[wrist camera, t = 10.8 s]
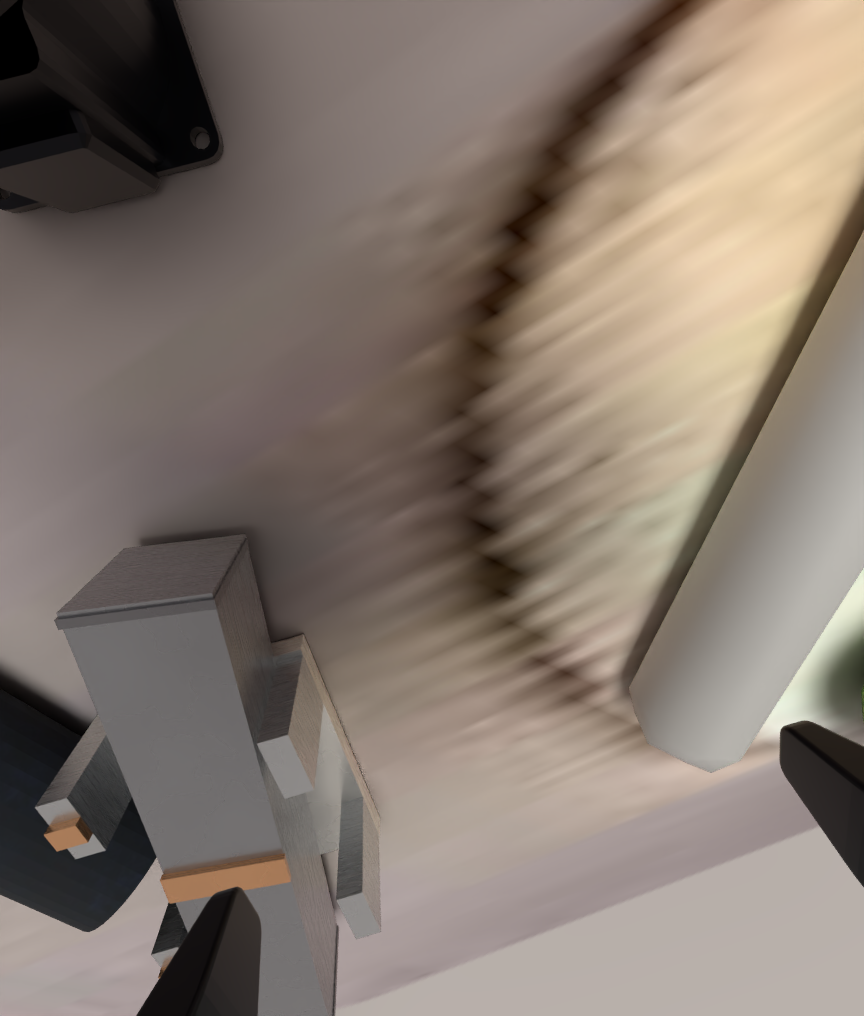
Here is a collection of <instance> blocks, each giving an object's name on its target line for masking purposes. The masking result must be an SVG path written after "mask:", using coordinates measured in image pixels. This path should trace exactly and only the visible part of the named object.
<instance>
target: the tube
mask: <svg viewBox="0 0 864 1016" xmlns="http://www.w3.org/2000/svg"><path fill="white" fill-rule="evenodd" d="M863 568H864V231H863V233H862V235H861V237H860V239H859V241H858V243H857V245H856V247H855V248H854V250H853V252H852V254H851V256H850V258H849V260H848V262H847V264H846V266H845V268H844V270H843V272H842V274H841V276H840V278H839V280H838V282H837V284H836V285H835V287H834V289H833V291H832V293H831V295H830V297H829V299H828V301H827V303H826V305H825V307H824V309H823V311H822V313H821V315H820V317H819V319H818V321H817V322H816V324H815V326H814V328H813V330H812V332H811V334H810V336H809V338H808V340H807V342H806V344H805V346H804V348H803V350H802V352H801V354H800V356H799V358H798V359H797V361H796V363H795V365H794V367H793V369H792V371H791V373H790V375H789V377H788V379H787V381H786V383H785V385H784V387H783V389H782V391H781V393H780V394H779V396H778V398H777V400H776V402H775V404H774V406H773V408H772V410H771V412H770V414H769V416H768V418H767V420H766V422H765V424H764V426H763V428H762V430H761V431H760V433H759V435H758V437H757V439H756V441H755V443H754V445H753V447H752V449H751V451H750V453H749V455H748V457H747V459H746V461H745V463H744V465H743V467H742V468H741V470H740V472H739V474H738V476H737V478H736V480H735V482H734V484H733V486H732V488H731V490H730V492H729V494H728V496H727V498H726V500H725V502H724V504H723V505H722V507H721V509H720V511H719V513H718V515H717V517H716V519H715V521H714V523H713V525H712V527H711V529H710V531H709V533H708V535H707V537H706V539H705V541H704V542H703V544H702V546H701V548H700V550H699V552H698V554H697V556H696V558H695V560H694V562H693V564H692V566H691V568H690V570H689V572H688V574H687V576H686V578H685V579H684V581H683V583H682V585H681V587H680V589H679V591H678V593H677V595H676V597H675V599H674V601H673V603H672V605H671V607H670V609H669V611H668V613H667V615H666V616H665V618H664V620H663V622H662V624H661V626H660V628H659V630H658V632H657V634H656V636H655V638H654V640H653V642H652V644H651V646H650V648H649V650H648V651H647V653H646V655H645V657H644V659H643V661H642V663H641V665H640V667H639V669H638V671H637V673H636V675H635V677H634V679H633V681H632V683H631V685H630V687H629V691H630V695H631V699H632V703H633V707H634V711H635V714H636V716H637V719H638V721H639V724H640V726H641V728H642V731H643V733H644V736H645V738H646V740H647V743H648V744H650V745H652V746H654V747H656V748H658V749H660V750H662V751H664V752H666V753H668V754H670V755H672V756H674V757H676V758H678V759H680V760H682V761H684V762H686V763H688V764H691V765H693V766H696V767H698V768H700V769H703V770H705V771H708V772H710V773H712V772H714V771H717V770H719V769H722V768H724V767H726V766H729V765H731V764H734V763H736V762H739V761H740V760H741V759H742V757H743V755H744V754H745V752H746V751H747V749H748V748H749V746H750V745H751V743H752V741H753V740H754V738H755V737H756V735H757V734H758V732H759V730H760V729H761V727H762V726H763V724H764V723H765V721H766V720H767V718H768V716H769V715H770V713H771V712H772V710H773V709H774V707H775V705H776V704H777V702H778V701H779V699H780V698H781V696H782V695H783V693H784V691H785V690H786V688H787V687H788V685H789V684H790V682H791V680H792V679H793V677H794V676H795V674H796V673H797V671H798V670H799V668H800V666H801V665H802V663H803V662H804V660H805V659H806V657H807V655H808V654H809V652H810V651H811V649H812V648H813V646H814V645H815V643H816V641H817V640H818V638H819V637H820V635H821V634H822V632H823V630H824V629H825V627H826V626H827V624H828V623H829V621H830V620H831V618H832V616H833V615H834V613H835V612H836V610H837V609H838V607H839V605H840V604H841V602H842V601H843V599H844V598H845V596H846V595H847V593H848V591H849V590H850V588H851V587H852V585H853V584H854V582H855V581H856V579H857V577H858V576H859V574H860V573H861V571H862V570H863Z"/></svg>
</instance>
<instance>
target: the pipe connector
mask: <svg viewBox="0 0 864 1016" xmlns="http://www.w3.org/2000/svg"><path fill="white" fill-rule="evenodd" d="M81 738H82V737H81V736H79V735H78V734H76V733H74V732H73V731H71V730H69V729H67V728H66V727H64V726H62V725H61V724H59V723H57V722H56V721H54V720H52V719H51V718H49V717H47V716H45V715H44V714H42V713H40V712H39V711H37V710H35V709H34V708H32V707H30V706H29V705H27V704H25V703H23V702H22V701H20V700H18V699H17V698H15V697H13V696H12V695H10V694H8V693H7V692H5V691H3V690H1V689H0V895H2V896H5V897H7V898H9V899H11V900H14V901H16V902H18V903H20V904H23V905H25V906H27V907H30V908H32V909H34V910H36V911H39V912H41V913H43V914H45V915H48V916H50V917H52V918H55V919H57V920H59V921H61V922H64V923H66V924H68V925H70V926H73V927H75V928H77V929H80V930H82V931H85V932H90V931H93V930H95V929H96V928H98V927H99V926H101V925H102V924H104V923H105V922H106V921H107V920H108V919H109V918H110V917H111V916H112V915H113V914H114V913H115V912H116V911H117V910H118V909H119V908H120V907H121V906H122V905H123V904H124V902H125V901H126V900H127V899H128V897H129V896H130V895H131V894H132V892H133V891H134V890H135V889H136V887H137V886H138V884H139V883H140V882H141V880H142V879H143V877H144V876H145V874H146V873H147V871H148V870H149V868H150V867H151V865H152V864H153V862H154V860H155V859H156V857H157V856H156V854H155V852H154V849H153V847H152V844H151V842H150V839H149V837H148V835H147V832H146V830H145V827H144V825H143V822H142V820H141V818H140V815H139V813H138V810H137V808H136V805H135V803H134V800H133V798H131V800H130V802H129V804H128V806H127V808H126V810H125V812H124V814H123V816H122V818H121V820H120V822H119V824H118V826H117V829H116V831H115V833H114V835H113V837H112V839H111V841H110V843H109V845H108V847H107V849H106V851H102V852H99V853H95V854H92V855H88V856H85V857H82V858H78V859H75V858H74V857H73V855H72V854H71V853H70V851H69V850H68V849H64V850H60V851H56V850H55V849H54V847H53V846H52V845H51V844H50V842H49V841H48V840H47V839H46V837H45V836H44V833H45V832H46V830H47V828H48V827H49V825H48V824H47V822H46V821H45V820H44V818H43V817H42V816H41V815H40V813H39V812H38V811H37V810H36V808H35V806H36V805H37V803H38V802H39V800H40V799H41V797H42V796H43V794H44V793H45V791H46V790H47V788H48V787H49V785H50V784H51V782H52V781H53V780H54V778H55V777H56V775H57V774H58V772H59V771H60V769H61V768H62V766H63V765H64V763H65V762H66V760H67V759H68V757H69V756H70V754H71V753H72V751H73V750H74V748H75V747H76V746H77V744H78V743H79V741H80V740H81Z"/></svg>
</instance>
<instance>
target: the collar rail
mask: <svg viewBox="0 0 864 1016" xmlns="http://www.w3.org/2000/svg"><path fill="white" fill-rule="evenodd" d="M271 647H272V651H273V655H274V659H275V664H276V670H275V674H274V678H273V682H272V686H271V690H270V694H269V698H268V701H267V705H266V709H265V713H264V717H263V721H262V725H261V729H260V733H259V737H258V740H257V746H258V748H259V749H260V751H261V753H262V755H263V757H264V759H265V761H266V763H267V765H268V767H269V769H270V771H271V773H272V775H273V777H274V779H275V781H276V783H277V785H278V787H279V789H280V791H281V793H282V795H283V797H284V799H285V798H289V797H292V796H296V795H299V794H303V793H306V795H307V800H308V804H309V808H310V812H311V817H312V821H313V825H314V829H315V834H316V838H317V842H318V846H319V851H320V855H321V854H324V853H328V852H331V851H335V850H338V849H339V857H338V877H337V896H336V901H337V903H338V905H339V906H340V908H341V910H342V912H343V914H344V916H345V918H346V920H347V922H348V924H349V926H350V928H351V930H352V932H353V934H354V936H355V938H356V939H359V938H362V937H365V936H369V935H372V934H376V933H379V932H381V908H380V867H379V837H380V817H379V815H378V812H377V810H376V807H375V805H374V802H373V800H372V798H371V795H370V793H369V790H368V788H367V786H366V783H365V781H364V778H363V776H362V773H361V771H360V769H359V766H358V764H357V761H356V759H355V757H354V754H353V752H352V749H351V747H350V745H349V742H348V740H347V737H346V735H345V732H344V730H343V728H342V725H341V723H340V720H339V718H338V716H337V713H336V711H335V708H334V706H333V704H332V701H331V699H330V696H329V694H328V691H327V689H326V687H325V684H324V682H323V679H322V677H321V675H320V672H319V670H318V667H317V665H316V663H315V660H314V658H313V655H312V653H311V650H310V648H309V646H308V643H307V641H306V638H305V636H304V634H303V635H299V636H296V637H292V638H288V639H285V640H281V641H278V642H274V643H271ZM131 798H132V796H131V793H130V791H129V788H128V786H127V783H126V781H125V779H124V776H123V774H122V771H121V769H120V766H119V764H118V762H117V759H116V757H115V754H114V752H113V749H112V747H111V745H110V742H109V740H108V737H107V735H106V732H105V730H104V728H103V725H102V723H101V720H100V718H99V715H98V714H97V716H96V717H95V719H94V720H93V722H92V723H91V725H90V726H89V728H88V729H87V731H86V732H85V734H84V735H83V737H82V738H81V740H80V741H79V743H78V744H77V746H76V747H75V748H74V750H73V751H72V753H71V754H70V756H69V757H68V759H67V760H66V762H65V763H64V765H63V766H62V768H61V769H60V771H59V772H58V774H57V775H56V777H55V778H54V780H53V781H52V782H51V784H50V785H49V787H48V788H47V790H46V791H45V793H44V794H43V796H42V797H41V799H40V800H39V802H38V803H37V805H36V806H35V808H36V810H37V811H38V812H39V813H40V815H41V816H42V817H43V818H44V820H45V821H46V822H47V824H48V825H49V827H48V828H47V830H46V832H45V833H44V836H45V837H46V839H47V840H48V841H49V842H50V844H51V845H52V846H53V847H54V849H55V850H56V851H60V850H64V849H68V850H69V851H70V853H71V854H72V855H73V857H74V858H75V859H78V858H82V857H85V856H88V855H92V854H95V853H99V852H102V851H106V849H107V847H108V845H109V843H110V841H111V839H112V837H113V835H114V833H115V831H116V829H117V826H118V824H119V822H120V820H121V818H122V816H123V814H124V812H125V810H126V808H127V806H128V804H129V802H130V800H131ZM187 934H188V932H187V929H186V927H185V925H184V922H183V920H182V917H181V915H180V912H179V910H178V907H177V905H176V903H171V904H170V903H168V906H167V909H166V912H165V915H164V918H163V921H162V924H161V927H160V930H159V933H158V936H157V939H156V942H155V945H154V948H153V951H152V954H151V955H152V957H153V958H154V959H155V961H156V962H157V963H158V964H159V966H160V967H161V970H160V973H159V977H158V978H159V979H160V977H161V975H162V974H163V972H164V971H165V969H166V967H167V966H168V964H169V963H170V961H171V959H172V958H173V956H174V955H175V953H176V951H177V950H178V948H179V947H180V945H181V943H182V942H183V940H184V939H185V937H186V935H187Z"/></svg>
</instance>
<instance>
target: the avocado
mask: <svg viewBox="0 0 864 1016" xmlns="http://www.w3.org/2000/svg"><path fill="white" fill-rule="evenodd" d="M861 694H862V713H863V721H864V686H863V689H862V691H861Z"/></svg>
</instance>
